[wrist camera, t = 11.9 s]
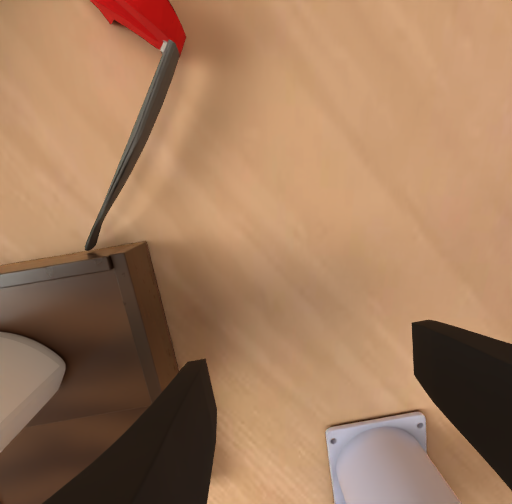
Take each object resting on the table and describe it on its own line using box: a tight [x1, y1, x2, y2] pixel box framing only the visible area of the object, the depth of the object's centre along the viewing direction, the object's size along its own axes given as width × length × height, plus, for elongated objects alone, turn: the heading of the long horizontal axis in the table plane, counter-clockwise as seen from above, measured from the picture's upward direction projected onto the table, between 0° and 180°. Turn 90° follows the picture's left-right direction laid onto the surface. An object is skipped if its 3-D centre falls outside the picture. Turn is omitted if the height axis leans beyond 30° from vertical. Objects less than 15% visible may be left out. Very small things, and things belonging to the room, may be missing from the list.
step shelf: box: [0, 241, 179, 504], centre depth 19 cm, size 20×16×4 cm
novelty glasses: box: [85, 0, 186, 251], centre depth 14 cm, size 14×15×5 cm
